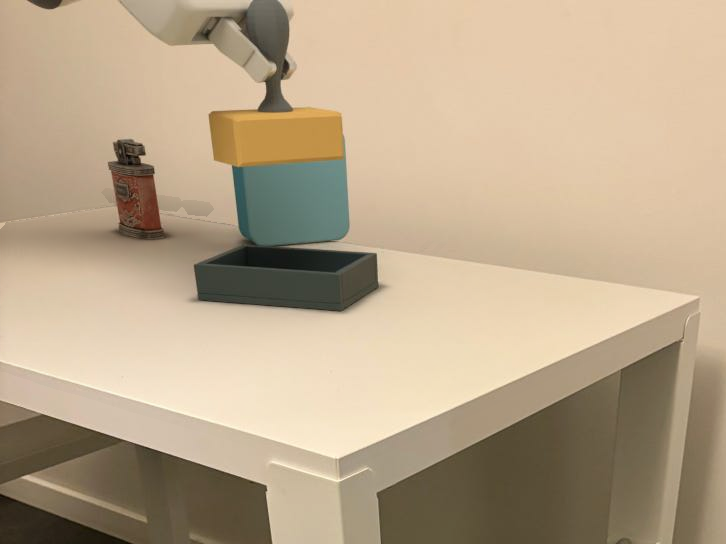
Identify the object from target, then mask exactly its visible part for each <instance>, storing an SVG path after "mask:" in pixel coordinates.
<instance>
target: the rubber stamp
mask: <svg viewBox="0 0 726 544" xmlns="http://www.w3.org/2000/svg"><path fill="white" fill-rule="evenodd" d="M246 28H247V33H248V37H249V40H250V41H251V42H252V43H253V44H254V45H255V46H256V47H257V48H258V50H264V51H265V52H266V53H267V55H268V56H269V57H270V59H271V60H272V61H273V62H274V63H275V64H276V68H277V69H276V72H275V73H274V74H273V75H272V77H271V79H270V80H269V81H268V82H264V83H265V91H266V92H265V95H264V99H263V100H262V101H261V102H260V103H259V105H258V107H257V109H256V108H253V109H230V110H212V111H211V112H209V113H208V114H207V115H208V123H209V131H210V139H211V148H212V155H213V161H215V162H219V163H222V164H226V165H230V166H231V167H232V166H236V167H245V166H259V165H273V164H287V163H301V162H315V161H329V160H341V159H344V145H343V135H344V131H343V129H344V128H343V119H342V118H343V116H342V113H341V112H339V111H337V110H330V109H323V108H317V107H311V106H303V107H292V105H291V104H290V103H289V102H288V101H287V100H286V99H285V96H284V95H283V92H282V87H281V85H282V80H281V74H282V69H283V64H284V60H285V56H286V52H288V47H289V43H290V32H291V31H290V22H289V20H288V16H287V13H286V11H285V9H284V7H283V6H282V4H281V3H280V2H279V1H278V0H253V1H252V2H251V3H250V5H249V7H248V9H247V14H246Z"/></svg>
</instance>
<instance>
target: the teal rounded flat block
mask: <svg viewBox="0 0 726 544" xmlns="http://www.w3.org/2000/svg"><path fill="white" fill-rule="evenodd" d="M343 145H344V159H341V160H329V161H315V162H301V163H287V164H273V165H259V166H245V167H236V166H232V165H231V172H232V180H233V189H234V198H235V207H236V215H237V224H238V230H239V232H240V234H241V235H242V237H244V238H245V239H247V240H248V241H249V242H252V243H254V245H255V244H256V245H259V246H274V247H278V246H287V245H289V246H290V245H299V244H309V243H310V244H311V243H312V244H313V243H324V242H334V241H340V240H342V239H344V238H345V237H346V236H347V235H348V233H349V230H350V227H351V225H350V223H351V221H350V207H349V205H350V203H349V190H348V189H349V187H348V171H347V152H346V138H345V135H344V134H343Z"/></svg>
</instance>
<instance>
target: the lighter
mask: <svg viewBox="0 0 726 544" xmlns="http://www.w3.org/2000/svg"><path fill="white" fill-rule="evenodd" d="M112 145H113V152H114V153H115V156H116V159H117V160H113V161H107V167H108V170H109V171H110V174H111V179H112V185H113V186H112V187H113V190H114V191H113V192H114V198H115V202H116V203H115V204H116V208H117V214H118V220H119V222H118V229H119V232H120V233H122V234H123V235H126V236H130V237H133V238H138V239H142V240H143V239H144V240H157V239H163V238H165V237H166V236H165V230H164V227H162V222H161V215H160V208H159V201H158V195H157V190H156V189H157V188H156V183H155V176H154V175H156V170H155V166H153V164H148V163H145V162H142V160H141V157H146V156H147V153H146V146H145V145H143V143H142V142H137V141H135V140H134V138H133V139H132V138H124V139H117V140H116V141H112Z"/></svg>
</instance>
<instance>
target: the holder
mask: <svg viewBox="0 0 726 544" xmlns="http://www.w3.org/2000/svg"><path fill="white" fill-rule="evenodd" d="M193 271H194V279H195V285H196V292H197V299H198V301H205V302H207V301H208V302H218V303H219V302H220V303H221V302H222V303H232V304H236V303H237V304H246V305H258V306H260V305H261V306H272V307H284V308H285V307H286V308H297V309H308V310H309V309H312V310H324V311H334V312H335V311H337V312H341V311H343V310H344V309H346V308H348V307H349V306H351V305H352V304H354V303H355V302H357V301H359V300H360V299H361V298H363V297H365V296H366V295H368V294H370V293H371V292H372V291H374V290H376V289H377V288H378V287H379V268H378V253H377V252H365V251H349V250H337V249H334V250H333V249H321V248H320V249H319V248H304V247H287V246H259V245H257V244H256V245H255V244H241V245H238V246H236V247H233V248H231V249H229V250H226V251H223V252H221V253H218V254H216V255H213V256H211V257H209V258H206V259H204V260H202V261H198V262H197V263H193Z"/></svg>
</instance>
